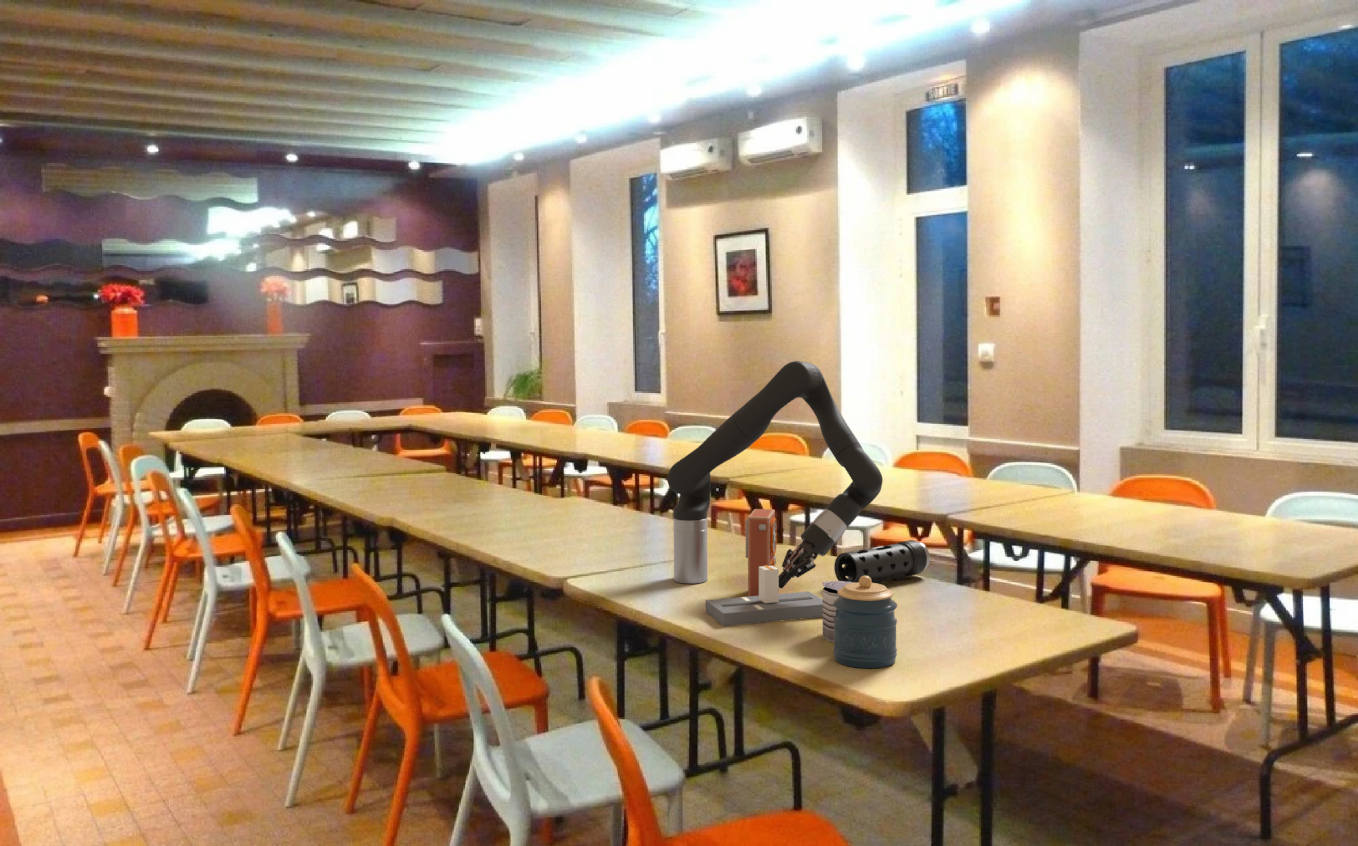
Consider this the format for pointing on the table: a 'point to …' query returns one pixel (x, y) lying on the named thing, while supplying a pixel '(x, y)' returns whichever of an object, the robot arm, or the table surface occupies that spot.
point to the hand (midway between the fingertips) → (777, 585)
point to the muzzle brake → (883, 562)
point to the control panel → (760, 545)
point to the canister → (865, 625)
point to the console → (764, 608)
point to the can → (830, 606)
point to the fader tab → (768, 584)
